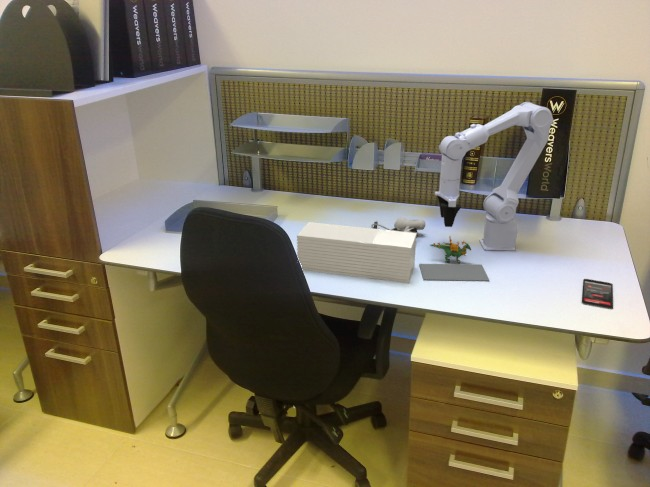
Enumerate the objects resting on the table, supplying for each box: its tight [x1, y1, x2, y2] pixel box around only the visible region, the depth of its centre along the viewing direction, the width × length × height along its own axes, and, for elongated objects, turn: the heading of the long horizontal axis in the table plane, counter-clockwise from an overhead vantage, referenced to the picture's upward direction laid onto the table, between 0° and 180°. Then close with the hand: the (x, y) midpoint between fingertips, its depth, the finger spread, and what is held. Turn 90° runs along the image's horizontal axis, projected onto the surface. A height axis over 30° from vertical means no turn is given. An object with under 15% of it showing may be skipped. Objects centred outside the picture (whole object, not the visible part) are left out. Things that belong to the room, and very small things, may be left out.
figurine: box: [429, 235, 472, 264], centre depth 167 cm, size 3×12×8 cm, turn 76°
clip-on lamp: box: [371, 217, 426, 239], centre depth 186 cm, size 12×6×18 cm
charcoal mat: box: [419, 263, 491, 282], centre depth 162 cm, size 18×10×1 cm, turn 88°
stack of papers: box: [296, 221, 418, 284], centre depth 163 cm, size 32×11×11 cm, turn 74°
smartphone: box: [581, 278, 614, 310], centre depth 150 cm, size 7×1×15 cm
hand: (446, 221), depth 172 cm, fingers open, 7 cm apart
